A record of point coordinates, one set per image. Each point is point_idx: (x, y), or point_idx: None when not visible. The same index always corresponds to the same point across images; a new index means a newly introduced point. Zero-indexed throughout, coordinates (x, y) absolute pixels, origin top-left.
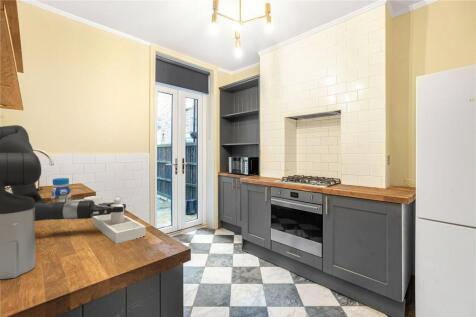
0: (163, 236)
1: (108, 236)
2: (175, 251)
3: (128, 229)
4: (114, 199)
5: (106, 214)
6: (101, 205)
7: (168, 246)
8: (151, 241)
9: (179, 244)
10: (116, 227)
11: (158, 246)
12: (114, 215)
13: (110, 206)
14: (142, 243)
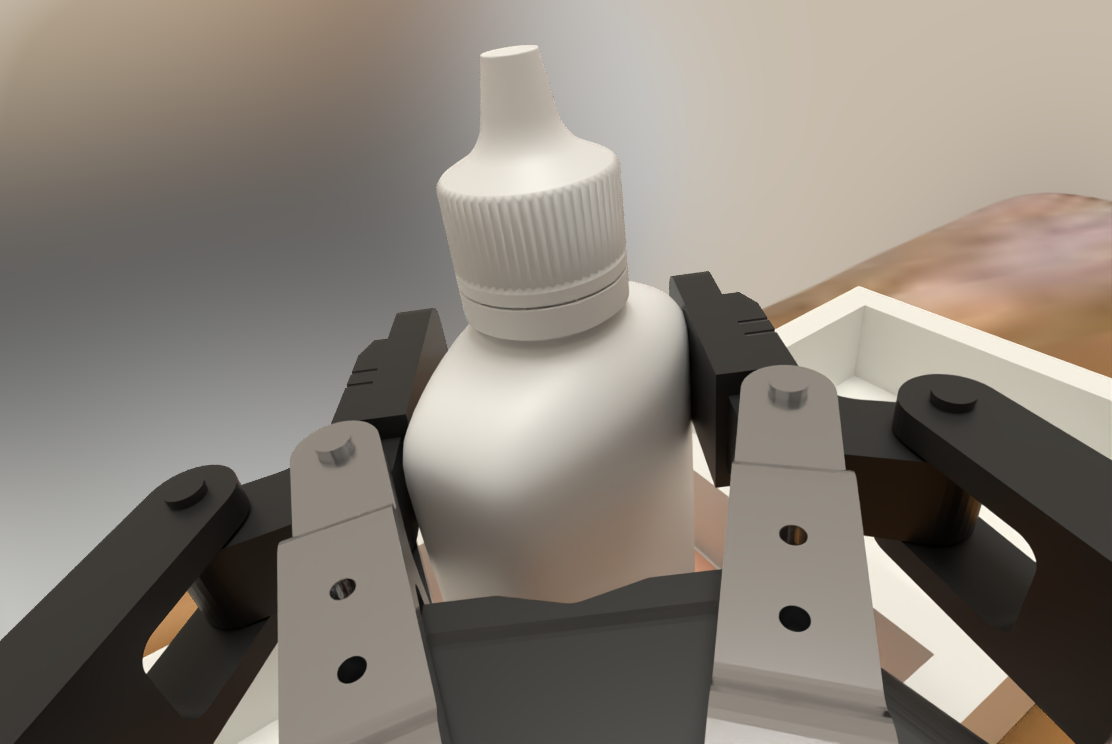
0: (830, 291)
1: (1004, 732)
2: (1095, 211)
3: (1027, 367)
4: (575, 201)
5: (994, 554)
6: (751, 674)
7: (1029, 242)
8: (968, 321)
9: (969, 217)
10: None
11: (1056, 274)
12: (669, 555)
13: (414, 566)
14: None
